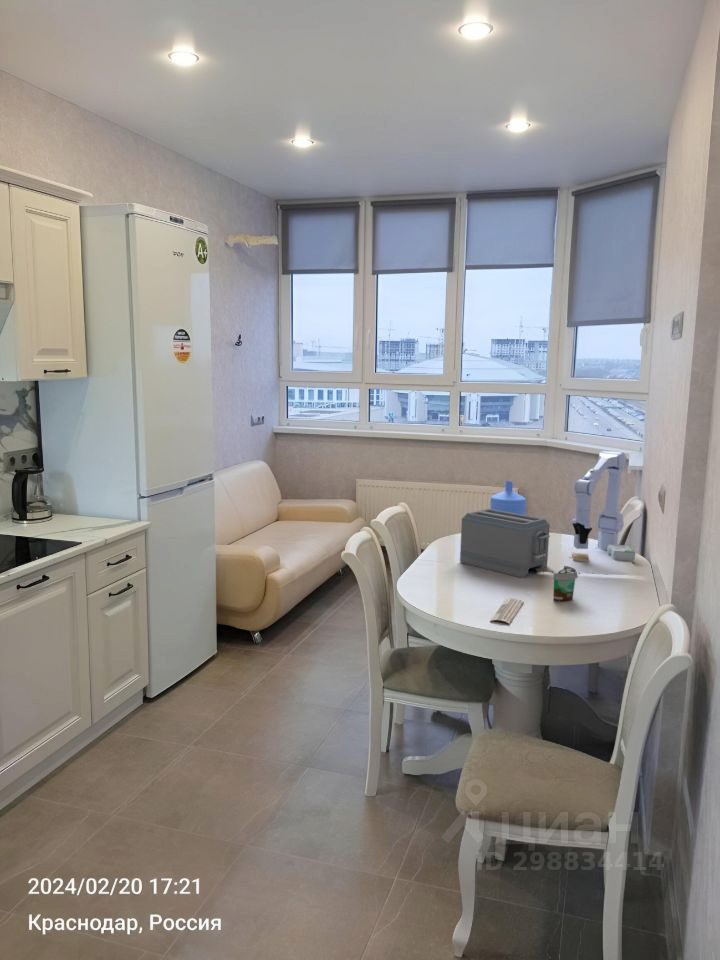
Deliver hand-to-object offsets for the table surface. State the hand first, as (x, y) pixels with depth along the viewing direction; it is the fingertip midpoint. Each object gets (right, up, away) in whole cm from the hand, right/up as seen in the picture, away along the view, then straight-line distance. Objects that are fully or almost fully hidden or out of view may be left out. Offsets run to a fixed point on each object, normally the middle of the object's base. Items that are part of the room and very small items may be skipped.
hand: (580, 542), depth 296 cm
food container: (-19, -16, -47) cm, 53 cm away
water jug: (-24, -3, +32) cm, 40 cm away
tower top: (0, -7, +1) cm, 7 cm away
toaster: (-32, -10, -8) cm, 34 cm away
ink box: (+18, -6, +1) cm, 19 cm away
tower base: (0, -9, +1) cm, 9 cm away
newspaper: (-43, -18, -62) cm, 77 cm away
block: (0, -2, 0) cm, 2 cm away
